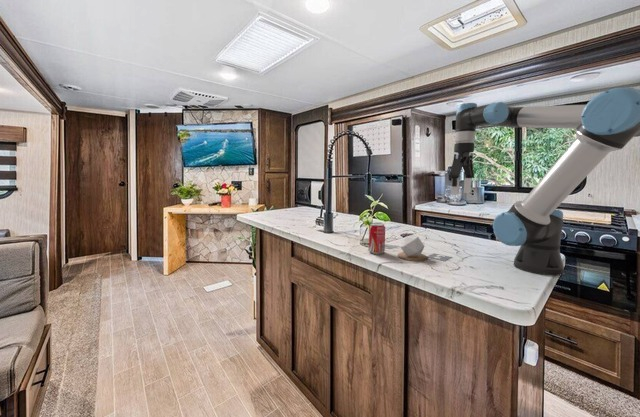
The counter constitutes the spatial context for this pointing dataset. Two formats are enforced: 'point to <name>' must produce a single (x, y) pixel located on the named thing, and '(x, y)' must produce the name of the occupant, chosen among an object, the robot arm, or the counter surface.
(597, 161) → the robot arm
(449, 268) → the counter surface
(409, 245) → the die
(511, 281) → the counter surface
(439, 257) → the tile
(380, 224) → the soda can
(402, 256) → the coaster
